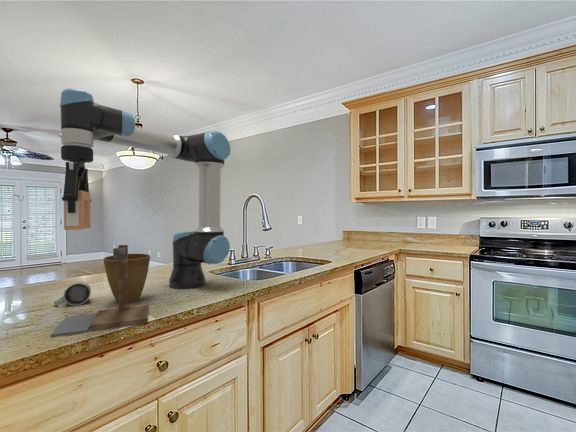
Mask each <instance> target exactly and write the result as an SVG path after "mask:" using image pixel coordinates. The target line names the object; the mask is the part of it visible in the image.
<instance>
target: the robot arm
mask: <svg viewBox="0 0 576 432" xmlns="http://www.w3.org/2000/svg"><path fill="white" fill-rule="evenodd" d="M59 108H60V126H61V127H60V133H58V137H59V138H60V144H61V147H60V158H61V160H63V161H65V176H64V184H63V185H64V186H63V195H62V197H61V200H62V201H63V202H64V201H66V226H79V201H77V200H78V190H82V191H86V192H89V193H90V188H89V187H90V186H89V170H88V168H86V166H85V165H86V163H88V164H89V163H93V162H94V149H93V147H94V141H100V142H105V143H110V144H117V145H120V146H126V147H131V148H136V149H141V150H144V151H149V152H155V153H160V154H164V155H167V156H168V157H169V158H172V159H176V160H179V161H180V160H181V161H185V162H190V163H194V164H195V166H196V167H197V168H198V227H197V228H196V229H195V230H194V231H185V232H184V231H182V232H177V233H175V234H174V235H173V237H172V269H171V270H172V271H171V274H170V277H169V279H168V280H169V281H168V287H169V288H172V289H193V288H199V287H201V286H204V285H206V277H205V274H204V271H203V268H202V264H208V265H218V264H221V263H222V262H224V261H225V260H226V258H227V257H228V255H229V252H230V247H231V246H230V245H231V244H230V241H229V239H228V238H227V237H226V236H225V231H224V229H223V228H222V227H221V174H222V173H221V170H222V169H223V167H225V160H227V159H228V158H229V156H230V155H231V146H230V141H229V140H228V138H227V137H226V135H225V134H224V133H223V132H220V131H218V130H208V131H207V132H206V131H205V132H201V133H200V132H199V133H195V134H191V135H178V134H172V135H167V134H165V133H161V132H157V131H153V130H151V129H150V130H149V129H145V128H142V127H137V126H136V119H135V117H134V115H133V114H131V113H129V112H126V111H123V110H122V109H116V108H113V107H110V106H106V105H101V104H99V103H97V102H96V103H95V102H94V97H93V95H92V93H90V92H87V90H83V89H78V88H65V89H63V90H62V91H61V95H60V103H59ZM90 203H92V199H91V198H90Z"/></svg>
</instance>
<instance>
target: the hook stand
mask: <svg viewBox="0 0 576 432" xmlns="http://www.w3.org/2000/svg"><path fill="white" fill-rule="evenodd" d="M128 248H129V244H120V245H119V244H118V247H115V248H112V249H113V251H112V253H113V255H112V256H113V259H118V268H119V303H118V307H117V308H109V309H106V308H105V309H99V310H98V311H97V312H96V313H97V314H96V316H95V318H94V319H93V321H92V323H91V325H90V329H89V331H90V332H93V331H95V332H96V331H102V330H110V329H115V328H116V329H117V328H125V327H131V326H138V325H146V324H147V325H148V322H149V321H148V319H149V304H145V305H135V306H129V303H128V254H129V251H128V250H129V249H128Z"/></svg>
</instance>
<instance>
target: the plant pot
mask: <svg viewBox="0 0 576 432" xmlns="http://www.w3.org/2000/svg"><path fill="white" fill-rule="evenodd" d="M102 260H103V264H104V268H105V269H104V270H105V275H106V278H107V281H108V285H109V287H110V290H111V292H112V295H113V297H114V300H115V301H116V303H117V304H119V268H118V259H113V255H108V256H105V257H103V259H102ZM150 260H151V255H150V254H147V253H128V304H130V303H135V302H137V301H139V300H140V299H141V296H142V293H143V290H144V287H145V284H146V280H147V277H148V271H149V267H150Z"/></svg>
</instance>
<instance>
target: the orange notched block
mask: <svg viewBox="0 0 576 432" xmlns="http://www.w3.org/2000/svg"><path fill="white" fill-rule="evenodd" d="M90 199H91V192H90V191H89V192H86V191H82V190H78V200H77V201H79V226H66V201H63V230H64V231H69V230H70V231H71V230H72V231H73V230H75V231H77V230H82V231H83V230H85V229H91V227H92V226H91V202H90Z"/></svg>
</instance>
